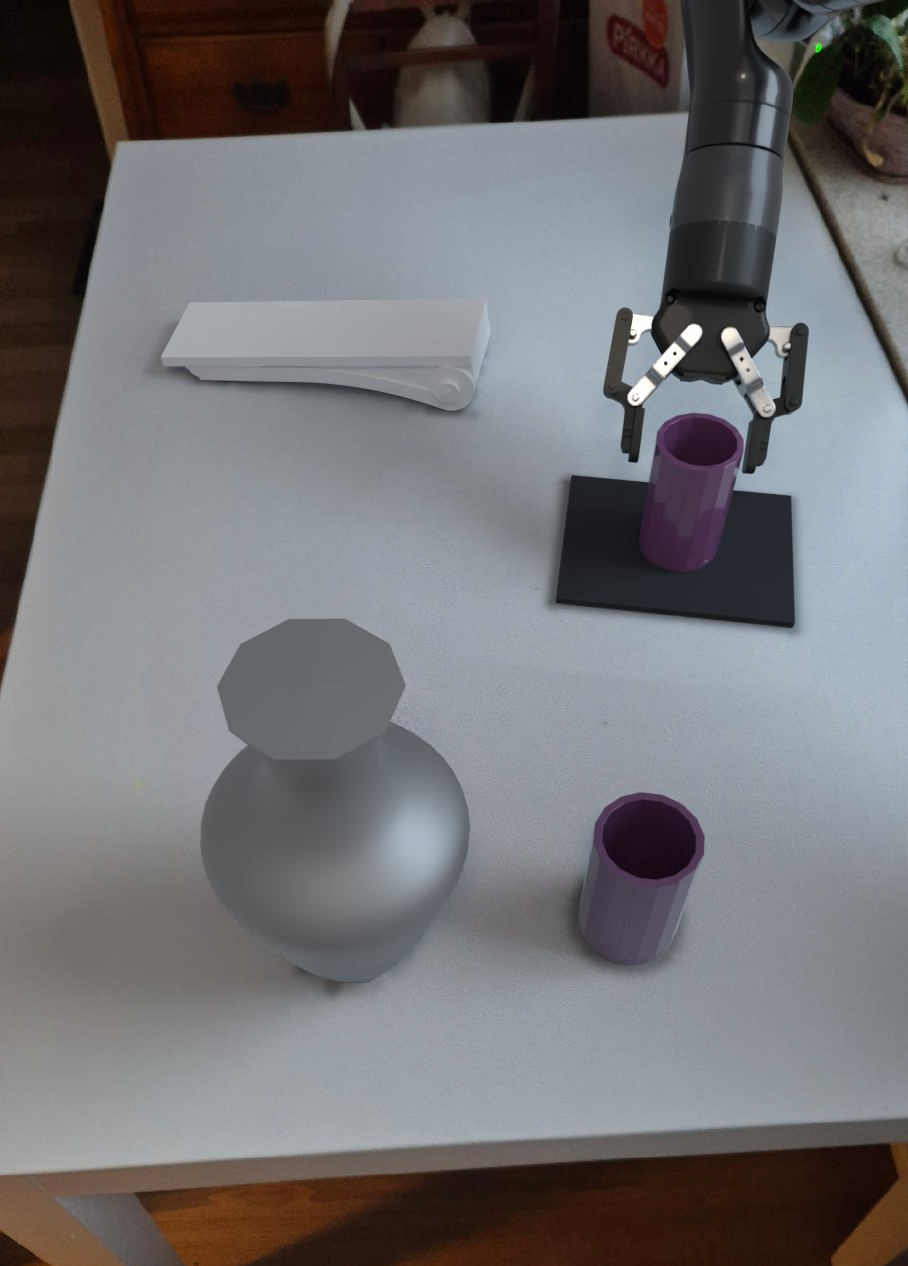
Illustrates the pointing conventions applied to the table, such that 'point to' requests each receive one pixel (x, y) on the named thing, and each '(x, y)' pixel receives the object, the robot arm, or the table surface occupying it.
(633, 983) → the table surface
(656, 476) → the plum cup
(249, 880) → the vase
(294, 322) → the wall bracket
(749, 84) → the robot arm
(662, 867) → the plum cup
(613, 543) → the mat
